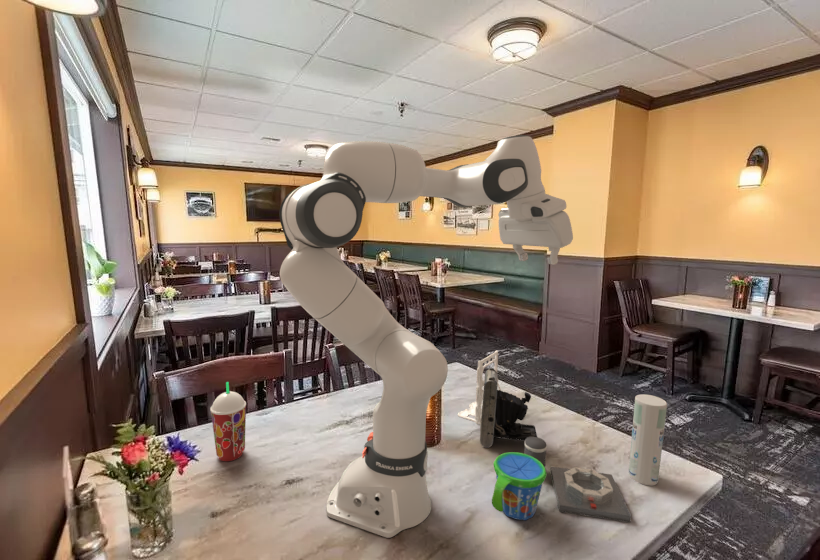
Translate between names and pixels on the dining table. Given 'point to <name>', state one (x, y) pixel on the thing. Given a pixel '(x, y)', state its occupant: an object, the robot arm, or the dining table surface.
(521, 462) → the snack cup
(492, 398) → the vintage camera
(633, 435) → the spray can
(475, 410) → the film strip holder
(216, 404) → the smoothie
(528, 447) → the lens
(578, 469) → the mount plate
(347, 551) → the dining table surface
